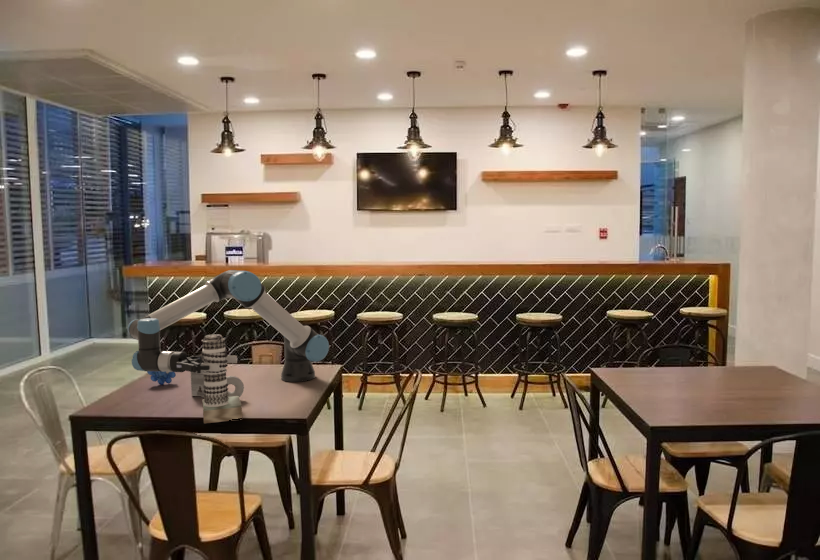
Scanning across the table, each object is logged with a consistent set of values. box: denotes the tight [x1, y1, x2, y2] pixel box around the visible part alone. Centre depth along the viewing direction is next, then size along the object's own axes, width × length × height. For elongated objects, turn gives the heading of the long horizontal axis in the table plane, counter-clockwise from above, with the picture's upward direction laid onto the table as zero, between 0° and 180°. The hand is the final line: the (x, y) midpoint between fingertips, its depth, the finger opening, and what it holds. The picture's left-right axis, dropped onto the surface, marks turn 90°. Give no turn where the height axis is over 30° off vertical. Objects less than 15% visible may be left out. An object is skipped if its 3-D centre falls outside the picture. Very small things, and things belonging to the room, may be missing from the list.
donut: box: [226, 375, 245, 398], centre depth 248 cm, size 10×4×10 cm, turn 101°
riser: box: [202, 396, 243, 424], centre depth 228 cm, size 13×14×5 cm
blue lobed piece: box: [146, 371, 176, 386], centre depth 273 cm, size 12×7×12 cm, turn 115°
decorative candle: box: [200, 333, 229, 407], centre depth 224 cm, size 9×9×25 cm
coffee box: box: [190, 353, 206, 398], centre depth 257 cm, size 9×6×16 cm
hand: (228, 363), depth 226 cm, fingers open, 13 cm apart
